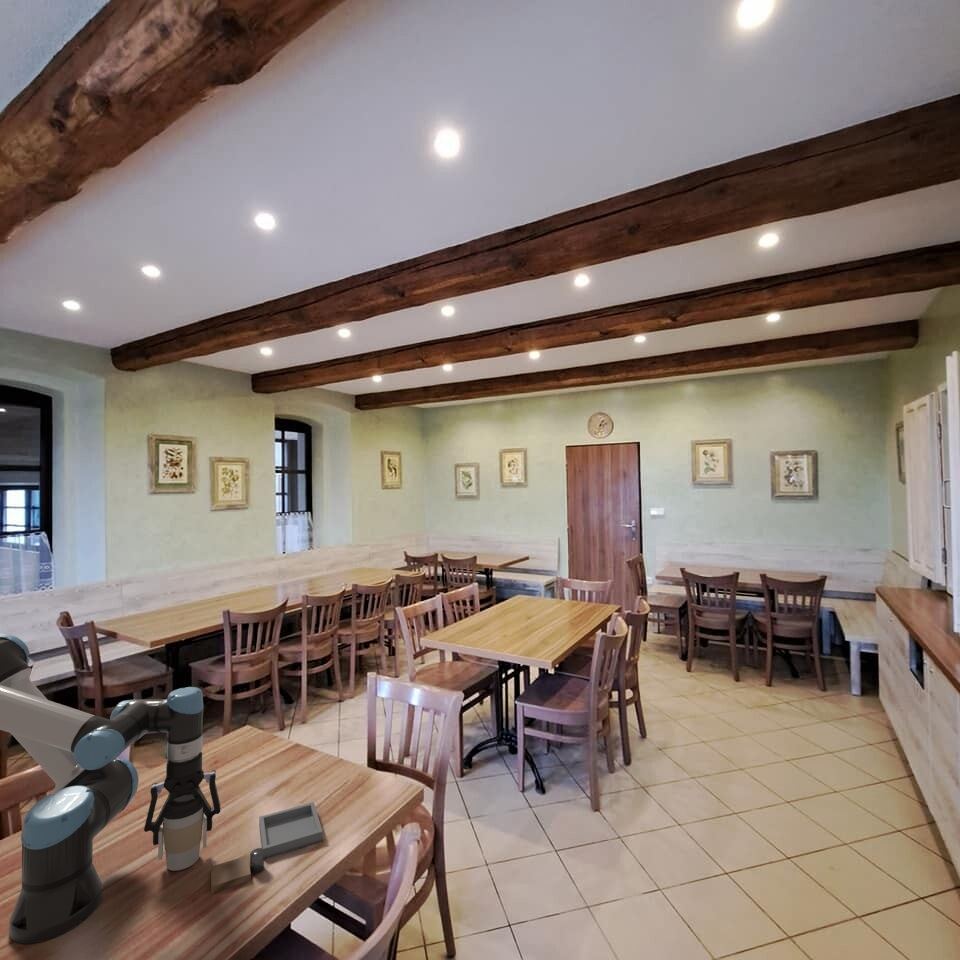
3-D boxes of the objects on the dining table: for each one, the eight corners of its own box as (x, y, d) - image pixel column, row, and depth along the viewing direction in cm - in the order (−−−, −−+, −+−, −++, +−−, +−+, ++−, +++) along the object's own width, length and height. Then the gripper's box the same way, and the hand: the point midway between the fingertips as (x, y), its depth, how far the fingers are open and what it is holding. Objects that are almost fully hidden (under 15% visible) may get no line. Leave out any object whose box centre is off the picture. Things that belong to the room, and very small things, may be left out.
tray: (263, 859, 124) (263, 849, 124) (259, 826, 136) (259, 816, 136) (322, 841, 130) (322, 831, 130) (313, 811, 142) (313, 802, 142)
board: (211, 895, 113) (211, 886, 113) (211, 875, 119) (211, 866, 119) (250, 882, 117) (250, 873, 117) (248, 863, 123) (248, 854, 123)
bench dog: (250, 876, 118) (250, 858, 118) (249, 867, 121) (249, 850, 121) (264, 871, 120) (264, 854, 120) (263, 863, 122) (263, 846, 122)
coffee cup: (184, 877, 118) (185, 810, 118) (151, 871, 119) (152, 806, 120) (212, 850, 126) (213, 788, 127) (181, 845, 128) (182, 784, 129)
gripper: (129, 773, 116) (127, 875, 115) (233, 752, 125) (232, 846, 125) (134, 758, 122) (132, 854, 122) (233, 739, 132) (231, 828, 131)
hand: (183, 850), depth 123 cm, fingers closed on coffee cup, 8 cm apart
